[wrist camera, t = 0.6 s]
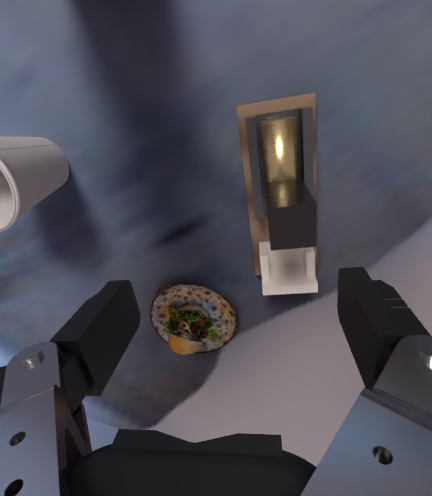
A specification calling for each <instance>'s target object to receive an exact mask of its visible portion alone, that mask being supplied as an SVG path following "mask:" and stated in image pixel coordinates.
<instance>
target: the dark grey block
mask: <svg viewBox="0 0 432 496" xmlns="http://www.w3.org/2000/svg"><path fill="white" fill-rule="evenodd" d="M260 126H261V138H262V150H263V161H264V173H265V183H264V185H265V197H266V208H267V219H268V229H269V238H270V248H271V251H273V250H284V249H296V248H308V247H317V210H316V202H315V200H314V198H313V197H312V195H311V193H310V192H309V190H308V188H307V186H306V185H305V183H304V181H303V180H302V178H299V174H298V146H297V118H296V116H289V117H281V118H275V119H269V120H265V121H261V122H260Z"/></svg>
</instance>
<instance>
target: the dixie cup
mask: <svg viewBox="0 0 432 496" xmlns="http://www.w3.org/2000/svg"><path fill="white" fill-rule="evenodd" d="M68 176H69V164H68V161H67V158H66V156H65V154H64V153H63V151H62V150H61V149H60V148H59V147H58V146H57V145H56V144H55V143H54V142H52V141H50V140H48V139H46V138H42V137H0V232H2V231H4V230H6V229H8V228H9V227H11V226H12V225H13V224H14V222H15V221H16V219H17V218H19V217H20V216H21V215H23V214H24V213H25V212H27V211H28V210H30V209H31V208H32V207H34V206H35V205H36V204H38V203H39V202H40V201H42V200H43V199H45V198H46V197H47V196H49V195H50V194H51V193H53V192H54V191H55V190H57V189H58V188H60V187H61V186H62V185H64V184H65V182H66V181H67V179H68Z"/></svg>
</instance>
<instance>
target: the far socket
mask: <svg viewBox="0 0 432 496" xmlns="http://www.w3.org/2000/svg"><path fill="white" fill-rule="evenodd" d="M259 252H260V265H261V274H262V289H263V295H280V294H297V293H314V292H318V283H317V280H316V277H315V251H314V249H313V247H308V248H296V249H284V250H273V251H271V248H270V241H267V242H259Z"/></svg>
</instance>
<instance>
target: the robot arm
mask: <svg viewBox="0 0 432 496" xmlns="http://www.w3.org/2000/svg"><path fill="white" fill-rule="evenodd" d="M337 303H338V304H337V307H338V316H339V320H340V324H341V326H342V329H343V331H344V334H345V336H346V338H347V341H348V344H349V346H350V348H351V352H352V354H353V357H354V359H355V362H356V364H357V367H358V369H359V372H360V375H361V377H362V380H363V382H364V385H365V388H364V389H363V390H362V392H361V393H360V395H359V397H358V398H357V400H356V402H355V404H354V405H353V407H352V408H351V410H350V412H349V414H348V415H347V417H346V419H345V421H344V422H343V424H342V425H341V427H340V429H339V431H338V432H337V434H336V436H335V437H334V439H333V441H332V443H331V444H330V446H329V448H328V449H327V451H326V453H325V454H324V456H323V458H322V460H321V461H320V463H319V465H318V466H317V467H315V466H314V465H313V464H311V463H309V462H308V461H306V460H305V459H303V458H301V457H299V456H296V455H294V454H292V453H290V452H287V451H284V450H282V444H281V443H282V442H281V435H266V434H265V435H264V434H234V435H229V436H225V437H220V438H216V439H211V440H207V441H202V442H198V443H192V442H188V441H185V440H182V439H179V438H176V437H174V436H171V435H167V434H165V433H162V432H159V431H156V430H155V431H154V430H130V429H119V430H118V432H117V434H116V437H115V439H114V441H113V443H112V444H110V445H107V446H104V447H102V448H99V449H97V450H95V451H93V452H92V449H91V443H90V437H89V431H88V425H87V419H86V414H85V408H84V405H83V403H82V400H83V399H84V397H85V396H100V395H101V393H102V392H103V390H104V388H105V386H106V385H107V383H108V381H109V379H110V377H111V376H112V374H113V372H114V370H115V368H116V367H117V365H118V363H119V361H120V359H121V358H122V356H123V354H124V352H125V350H126V349H127V347H128V345H129V343H130V341H131V340H132V338H133V336H134V334H135V332H136V331H137V329H138V327H139V324H140V311H139V308H138V304H137V301H136V297H135V294H134V291H133V287H132V284H131V282H130V281H129V280H118V281H109V282H108V283H107V284H106V285H105V286H104V287H103V288H102V289H101V291H100V292H99V293H98V294H96V295H95V296H93V297H92V298H90V299H89V300H87V301H86V302H85V303H84V304H83V305H82V306H81V307H80V308H79V309H78V311H77V312H76V313H75V314H74V315H73V316H72V319H69V320H68V321H67V323H66V324H65V325H64V326H63V327H62V328H61V329H60V330H59V331H58V332H57V333H56V335H55V336H54V337H53V338H52V339H51V340H50V341H49V342H41V343H37V344H34V345H31V346H29V347H27V348H25V349H24V350H22V351H20V352H19V353H18V354H16V355H15V356H14V357H13V358H12V359H11V360H10V361H9V363H8V364H7V366H4V367H0V496H432V336H431V335H430V334H429V333H428V332H427V330H426V329H425V328H424V326H423V325H422V324H421V322H420V321H419V320H418V318H417V317H416V316H415V315H414V313H413V312H412V311H411V309H410V308H408V306H407V304H406V303H405V302H404V300H402V299H401V297H400V295H399V294H398V293H397V291H396V290H395V289H394V288H393V287H391V286H390V285H388V284H386V283H385V282H383V281H381V280H373V281H372V279H371V278H370V276H369V275H368V273H367V272H366V271H365V269H364V268H363V267H354V268H340V269H339V274H338V302H337Z"/></svg>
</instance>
